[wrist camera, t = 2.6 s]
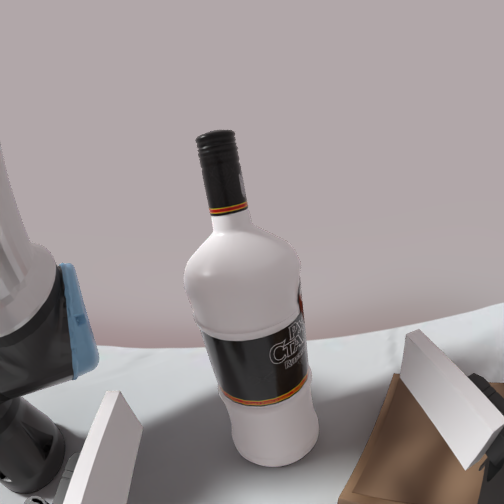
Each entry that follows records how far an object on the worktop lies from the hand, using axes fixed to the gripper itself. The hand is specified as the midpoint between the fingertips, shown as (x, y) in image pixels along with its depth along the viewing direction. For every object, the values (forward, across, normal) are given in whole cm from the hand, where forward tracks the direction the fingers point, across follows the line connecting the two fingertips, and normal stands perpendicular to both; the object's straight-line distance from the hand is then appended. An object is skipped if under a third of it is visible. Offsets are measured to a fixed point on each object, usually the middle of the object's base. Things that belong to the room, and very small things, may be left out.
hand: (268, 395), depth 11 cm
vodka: (+10, 0, -18) cm, 21 cm away
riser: (0, +15, -18) cm, 24 cm away
